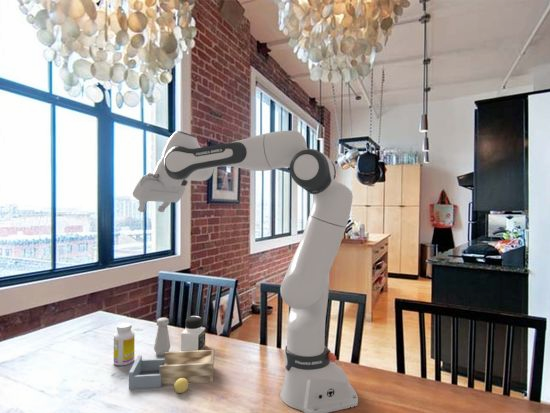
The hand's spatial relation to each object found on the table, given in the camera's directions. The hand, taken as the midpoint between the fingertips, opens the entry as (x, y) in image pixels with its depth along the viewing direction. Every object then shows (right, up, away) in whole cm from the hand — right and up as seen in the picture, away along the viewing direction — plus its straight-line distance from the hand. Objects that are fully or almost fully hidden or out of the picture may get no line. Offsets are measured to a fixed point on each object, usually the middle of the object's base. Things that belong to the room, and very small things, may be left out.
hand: (151, 211), depth 116 cm
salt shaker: (+1, -53, +8) cm, 54 cm away
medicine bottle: (+12, -53, +13) cm, 56 cm away
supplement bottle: (-10, -53, +1) cm, 54 cm away
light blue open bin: (+3, -53, -9) cm, 54 cm away
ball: (+15, -51, -17) cm, 56 cm away
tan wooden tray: (+15, -53, -8) cm, 56 cm away
